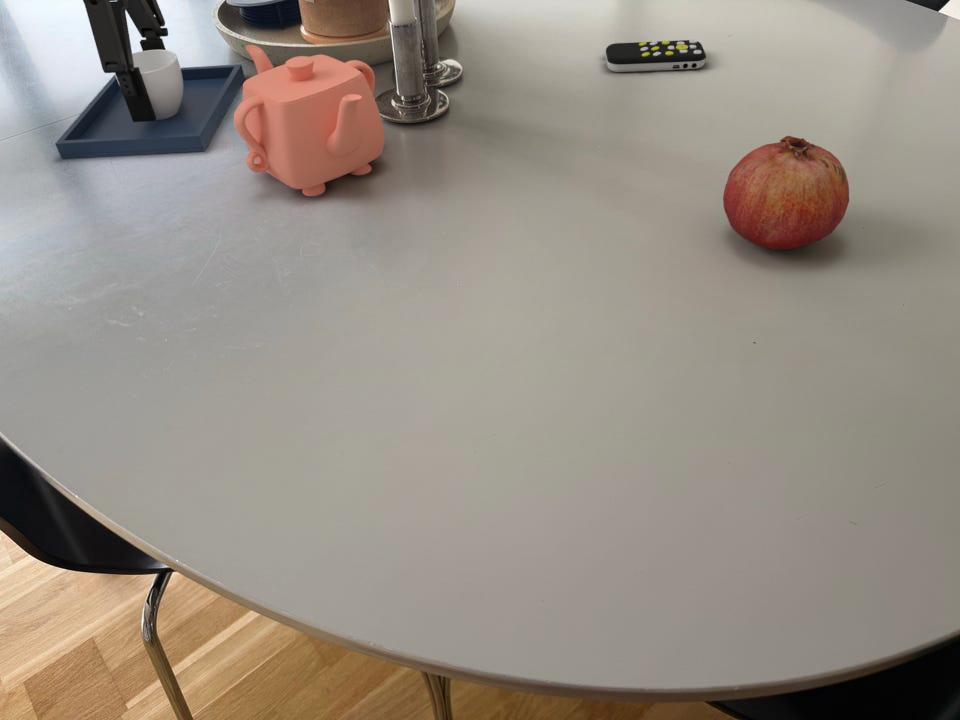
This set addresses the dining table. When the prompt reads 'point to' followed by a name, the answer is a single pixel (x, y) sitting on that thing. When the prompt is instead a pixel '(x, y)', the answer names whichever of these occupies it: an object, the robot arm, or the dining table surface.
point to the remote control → (655, 56)
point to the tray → (187, 131)
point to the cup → (161, 80)
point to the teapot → (309, 120)
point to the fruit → (786, 194)
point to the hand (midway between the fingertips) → (156, 104)
